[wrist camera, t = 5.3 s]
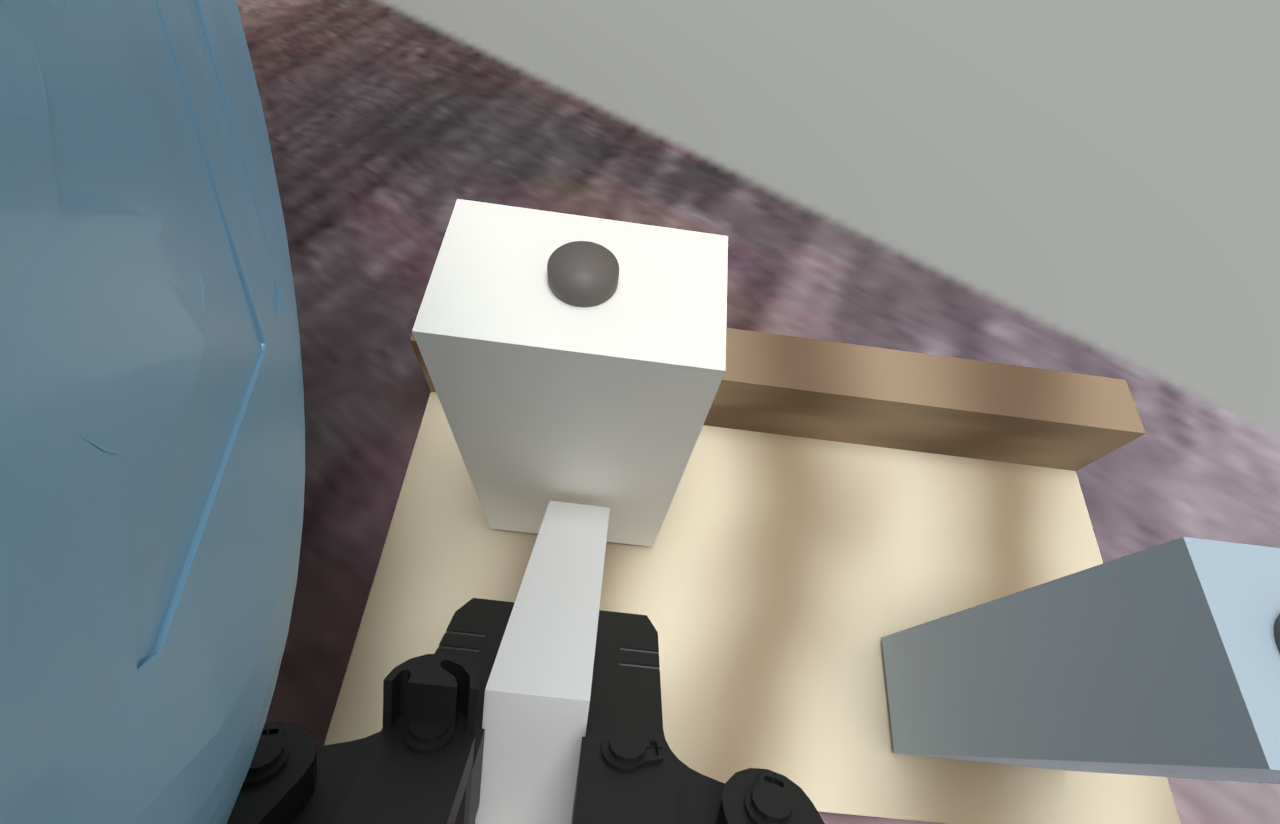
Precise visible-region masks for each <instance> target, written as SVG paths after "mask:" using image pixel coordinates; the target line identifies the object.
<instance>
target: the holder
mask: <svg viewBox="0 0 1280 824" xmlns="http://www.w3.org/2000/svg"><path fill="white" fill-rule="evenodd" d="M410 342H411V344H412V347H413V349H414V352H415V354H416V357H417V359H418V362H419V364H420V366H421V369H422V371H423V374H424V376H425V379H426V381H427V383H428V386H429V388H430V391H431V393H430V396H429V399H428V403H427V406H426V409H425V413H424V416H423V419H422V423H421V426H420V429H419V432H418V436H417V439H416V442H415V446H414V449H413V452H412V456H411V459H410V462H409V465H408V469H407V472H406V475H405V479H404V482H403V485H402V489H401V492H400V495H399V498H398V502H397V505H396V508H395V512H394V515H393V518H392V522H391V525H390V528H389V531H388V535H387V538H386V541H385V545H384V548H383V551H382V555H381V558H380V561H379V564H378V568H377V571H376V574H375V578H374V581H373V584H372V588H371V591H370V594H369V597H368V601H367V604H366V607H365V611H364V614H363V617H362V621H361V624H360V627H359V630H358V634H357V637H356V640H355V644H354V647H353V650H352V654H351V657H350V660H349V663H348V667H347V670H346V673H345V677H344V680H343V683H342V687H341V690H340V693H339V696H338V700H337V703H336V706H335V710H334V713H333V716H332V720H331V723H330V726H329V729H328V733H327V736H326V739H325V743H324V745H331V744H337V743H343V742H349V741H353V740H358V739H362V738H366V737H368V736H370V735H373V734H375V733H377V732H380V731H381V730H382V728H383V680H384V679H385V678H386V676H387V675H388V674H389V673H390V672H391V671H392V670H393V669H394V668H395V667H396V666H398V665H400V664H402V663H403V662H405V661H407V660H409V659H411V658H415V657H418V656H422V655H426V654H435V652H436V649H437V648H438V647H439V643H440V641H441V639H442V637H443V635H444V633H446V629H447V627H448V625H449V623H450V621H451V619H452V617H453V615H454V613H455V612H456V611H457V610H458V609H459V608H461V607H462V606H463V605H465V604H466V603H467V602H468V601H470V600H471V599H472V598H480V599H489V600H498V601H507V602H515V600H516V598H517V595H518V592H519V589H520V586H521V583H522V580H523V577H524V574H525V571H526V568H527V565H528V562H529V560H530V557H531V554H532V551H533V548H534V545H535V542H536V539H537V536H538V534H535V533H526V532H517V531H508V530H499V529H491V528H490V527H489V524H488V522H487V519H486V517H485V514H484V512H483V509H482V507H481V504H480V502H479V499H478V497H477V494H476V491H475V489H474V486H473V484H472V481H471V479H470V476H469V474H468V471H467V469H466V466H465V464H464V461H463V459H462V456H461V453H460V451H459V448H458V446H457V443H456V441H455V438H454V436H453V433H452V431H451V428H450V426H449V423H448V421H447V418H446V415H445V413H444V410H443V408H442V405H441V403H440V400H439V398H438V395H437V393H436V390H435V388H434V385H433V383H432V380H431V378H430V375H429V372H428V370H427V367H426V365H425V362H424V360H423V357H422V355H421V352H420V350H419V347H418V345H417V342H416V340H415V337H414V334H413V332H412V335H411V338H410ZM1144 434H1146V433H1145V430H1144V427H1143V425H1142V422H1141V419H1140V417H1139V414H1138V411H1137V409H1136V406H1135V403H1134V401H1133V398H1132V395H1131V393H1130V390H1129V387H1128V385H1127V382H1126V380H1122V379H1114V378H1107V377H1099V376H1091V375H1084V374H1076V373H1068V372H1061V371H1053V370H1045V369H1038V368H1030V367H1022V366H1015V365H1007V364H999V363H992V362H984V361H976V360H969V359H961V358H953V357H946V356H938V355H930V354H923V353H915V352H907V351H900V350H892V349H884V348H877V347H869V346H861V345H854V344H846V343H838V342H831V341H823V340H815V339H808V338H800V337H792V336H785V335H777V334H769V333H762V332H754V331H746V330H739V329H731V328H726V371H725V374H724V376H723V378H722V381H721V383H720V386H719V388H718V391H717V393H716V395H715V398H714V400H713V403H712V405H711V408H710V410H709V412H708V415H707V417H706V420H705V422H704V424H703V427H702V429H701V432H700V434H699V437H698V439H697V441H696V444H695V446H694V449H693V451H692V454H691V456H690V458H689V461H688V463H687V466H686V468H685V471H684V473H683V475H682V478H681V480H680V483H679V485H678V488H677V490H676V492H675V495H674V497H673V500H672V502H671V505H670V507H669V509H668V512H667V514H666V517H665V519H664V522H663V524H662V526H661V529H660V531H659V534H658V536H657V539H656V541H655V543H654V546H653V547H649V546H640V545H631V544H623V543H614V542H606V549H605V559H604V569H603V578H602V588H601V598H600V608H599V610H603V611H612V612H621V613H630V614H639V615H647V616H648V618H649V619H650V621H651V623H652V624H653V626H654V627H655V629H656V630H657V632H658V645H659V664H660V667H659V670H660V682H661V700H662V718H663V731H664V736H665V740H666V741H667V743H668V745H669V747H670V749H671V751H672V752H673V753H674V754H675V755H676V757H677V758H678V759H679V760H680V761H682V762H683V763H684V764H685V765H687V766H688V767H689V768H691V769H693V770H695V771H697V772H699V773H700V774H702V775H705V776H707V777H710V778H712V779H715V780H717V781H720V782H722V783H726V782H727V781H728V780H729V779H730V778H731V777H732V776H733V775H734V774H735V773H736V772H739V771H742V770H745V769H748V768H759V769H768V770H771V771H773V772H776V773H779V774H781V775H784V776H786V777H787V778H788V779H790V780H791V781H792V782H794V783H795V784H796V785H798V786H799V787H801V788H802V790H803V791H804V792H805V794H806V795H807V796H808V797H809V799H810V800H811V801H812V803H813V804H814V806H815V808H816V809H817V811H820V812H831V813H841V814H852V815H862V816H873V817H883V818H894V819H904V820H915V821H925V822H936V823H946V824H1181V823H1180V819H1179V816H1178V813H1177V809H1176V806H1175V803H1174V799H1173V796H1172V793H1171V789H1170V786H1169V783H1168V779H1167V777H1157V776H1141V775H1125V774H1109V773H1094V772H1078V771H1065V770H1055V769H1045V768H1035V767H1025V766H1015V765H1005V764H995V763H985V762H975V761H965V760H955V759H945V758H935V757H925V756H915V755H905V754H895V753H894V746H893V737H892V728H891V718H890V709H889V700H888V690H887V681H886V672H885V663H884V653H883V644H882V637H884V636H887V635H890V634H893V633H896V632H899V631H902V630H905V629H908V628H911V627H914V626H917V625H920V624H923V623H926V622H929V621H932V620H935V619H938V618H941V617H944V616H947V615H950V614H953V613H956V612H959V611H962V610H965V609H968V608H971V607H974V606H977V605H980V604H983V603H986V602H989V601H992V600H995V599H998V598H1001V597H1004V596H1007V595H1010V594H1013V593H1016V592H1019V591H1022V590H1025V589H1028V588H1031V587H1034V586H1037V585H1040V584H1043V583H1046V582H1049V581H1052V580H1055V579H1058V578H1061V577H1064V576H1067V575H1070V574H1073V573H1076V572H1079V571H1082V570H1085V569H1088V568H1091V567H1094V566H1097V565H1100V564H1103V561H1102V558H1101V555H1100V551H1099V548H1098V544H1097V541H1096V538H1095V534H1094V531H1093V528H1092V524H1091V521H1090V518H1089V514H1088V511H1087V508H1086V504H1085V501H1084V498H1083V494H1082V491H1081V487H1080V484H1079V481H1078V477H1077V474H1076V471H1077V470H1078V469H1080V468H1082V467H1084V466H1086V465H1088V464H1090V463H1091V462H1093V461H1095V460H1097V459H1099V458H1101V457H1103V456H1105V455H1106V454H1108V453H1110V452H1112V451H1114V450H1116V449H1118V448H1119V447H1121V446H1123V445H1125V444H1127V443H1129V442H1131V441H1133V440H1134V439H1136V438H1138V437H1140V436H1142V435H1144Z"/></svg>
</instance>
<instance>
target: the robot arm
mask: <svg viewBox="0 0 1280 824" xmlns="http://www.w3.org/2000/svg"><path fill="white" fill-rule="evenodd" d="M304 491H305V414H304V390H303V374H302V361H301V348H300V335H299V326H298V317H297V308H296V299H295V291H294V284H293V277H292V270H291V263H290V256H289V248H288V241H287V234H286V227H285V222H284V217H283V211H282V206H281V201H280V195H279V190H278V185H277V179H276V174H275V169H274V164H273V158H272V153H271V148H270V143H269V137H268V133H267V128H266V123H265V119H264V114H263V109H262V105H261V100H260V96H259V92H258V87H257V83H256V79H255V75H254V71H253V67H252V63H251V59H250V54H249V50H248V46H247V42H246V38H245V34H244V30H243V26H242V22H241V17H240V13H239V9H238V5H237V1H236V0H0V824H474V821H475V824H824V822H823V820H822V818H821V817H820V815H819V813H818V811H817V809H816V808H815V806H814V804H813V803H812V801H811V800H810V799H809V797H808V796H807V795H806V794H805V792H804V791H803V790H802V788H801V787H799V786H798V785H796V784H795V783H794V782H792V781H791V780H790V779H788V778H787V777H786V776H784V775H781V774H779V773H776V772H773V771H771V770H768V769H759V768H748V769H745V770H742V771H739V772H736V773H735V774H734V775H733V776H732V777H731V778H730V779H729V780H728V781H727V782H726V783H722V782H720V781H717V780H715V779H712V778H710V777H707V776H705V775H702V774H700V773H699V772H697V771H695V770H693V769H691V768H689V767H688V766H687V765H685V764H684V763H683V762H682V761H680V760H679V759H678V758H677V757H676V755H675V754H674V753H673V752H672V751H671V749H670V747H669V745H668V743H667V741H666V740H665V736H664V731H663V718H662V700H661V682H660V670H659V667H660V664H659V645H658V632H657V630H656V629H655V627H654V626H653V624H652V623H651V621H650V619H649V618H648V616H647V615H639V614H630V613H621V612H612V611H603V610H599V608H600V598H601V588H602V578H603V569H604V559H605V549H606V540H607V530H608V520H609V510H610V508H608V507H600V506H591V505H583V504H574V503H566V502H558V501H549V504H548V507H547V510H546V513H545V516H544V519H543V522H542V524H541V527H540V530H539V533H538V536H537V539H536V542H535V545H534V548H533V551H532V554H531V557H530V560H529V562H528V565H527V568H526V571H525V574H524V577H523V580H522V583H521V586H520V589H519V592H518V595H517V598H516V600H515V602H507V601H498V600H489V599H480V598H472V599H471V600H470V601H468V602H467V603H466V604H465V605H463V606H462V607H461V608H459V609H458V610H457V611H456V612H455V613H454V615H453V617H452V619H451V621H450V623H449V625H448V627H447V629H446V633H444V635H443V637H442V639H441V641H440V643H439V647H438V648H437V649H436V652H435V654H426V655H422V656H418V657H415V658H411V659H409V660H407V661H405V662H403V663H402V664H400V665H398V666H396V667H395V668H394V669H393V670H392V671H391V672H390V673H389V674H388V675H387V676H386V678H385V679H384V680H383V728H382V730H381V731H380V732H377V733H375V734H373V735H370V736H368V737H366V738H362V739H358V740H353V741H349V742H343V743H337V744H331V745H324V746H318V747H317V744H316V742H315V740H314V738H313V736H312V733H311V732H310V731H308V730H307V729H305V728H303V727H302V726H300V725H298V724H292V723H284V722H276V723H270V724H265V722H266V718H267V715H268V711H269V707H270V704H271V700H272V697H273V693H274V690H275V685H276V681H277V677H278V673H279V669H280V665H281V661H282V657H283V653H284V649H285V644H286V640H287V636H288V632H289V626H290V620H291V614H292V608H293V602H294V596H295V590H296V584H297V577H298V567H299V557H300V547H301V537H302V527H303V513H304Z"/></svg>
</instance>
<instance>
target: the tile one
mask: <svg viewBox="0 0 1280 824" xmlns="http://www.w3.org/2000/svg"><path fill="white" fill-rule="evenodd" d="M727 265H728V236H724V235H717V234H709V233H702V232H695V231H688V230H680V229H673V228H666V227H658V226H651V225H644V224H637V223H629V222H622V221H615V220H607V219H600V218H593V217H586V216H578V215H571V214H564V213H556V212H549V211H542V210H535V209H527V208H520V207H513V206H505V205H498V204H491V203H484V202H476V201H469V200H462V199H457V201H456V204H455V207H454V210H453V213H452V216H451V219H450V222H449V225H448V227H447V230H446V233H445V236H444V239H443V242H442V245H441V248H440V251H439V254H438V257H437V260H436V263H435V266H434V268H433V271H432V274H431V277H430V280H429V283H428V286H427V289H426V292H425V295H424V298H423V301H422V304H421V307H420V310H419V312H418V315H417V318H416V321H415V324H414V327H413V330H412V332H413V334H414V337H415V340H416V342H417V345H418V347H419V350H420V352H421V355H422V357H423V360H424V362H425V365H426V367H427V370H428V372H429V375H430V378H431V380H432V383H433V385H434V388H435V390H436V393H437V395H438V398H439V400H440V403H441V405H442V408H443V410H444V413H445V415H446V418H447V421H448V423H449V426H450V428H451V431H452V433H453V436H454V438H455V441H456V443H457V446H458V448H459V451H460V453H461V456H462V459H463V461H464V464H465V466H466V469H467V471H468V474H469V476H470V479H471V481H472V484H473V486H474V489H475V491H476V494H477V497H478V499H479V502H480V504H481V507H482V509H483V512H484V514H485V517H486V519H487V522H488V524H489V527H490V528H491V529H499V530H508V531H517V532H526V533H535V534H538V533H539V530H540V527H541V524H542V522H543V519H544V516H545V513H546V510H547V507H548V504H549V501H558V502H566V503H574V504H583V505H591V506H600V507H608V508H610V510H609V520H608V530H607V540H606V542H614V543H623V544H631V545H640V546H649V547H653V546H654V543H655V541H656V539H657V536H658V534H659V531H660V529H661V526H662V524H663V522H664V519H665V517H666V514H667V512H668V509H669V507H670V505H671V502H672V500H673V497H674V495H675V492H676V490H677V488H678V485H679V483H680V480H681V478H682V475H683V473H684V471H685V468H686V466H687V463H688V461H689V458H690V456H691V454H692V451H693V449H694V446H695V444H696V441H697V439H698V437H699V434H700V432H701V429H702V427H703V424H704V422H705V420H706V417H707V415H708V412H709V410H710V408H711V405H712V403H713V400H714V398H715V395H716V393H717V391H718V388H719V386H720V383H721V381H722V378H723V376H724V374H725V371H726V320H727Z"/></svg>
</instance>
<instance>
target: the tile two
mask: <svg viewBox="0 0 1280 824" xmlns="http://www.w3.org/2000/svg"><path fill="white" fill-rule="evenodd" d="M882 644H883V653H884V663H885V672H886V681H887V690H888V700H889V709H890V718H891V728H892V737H893V746H894V753H895V754H905V755H915V756H925V757H935V758H945V759H955V760H965V761H975V762H985V763H995V764H1005V765H1015V766H1025V767H1035V768H1045V769H1055V770H1065V771H1078V772H1094V773H1109V774H1125V775H1141V776H1157V777H1173V778H1189V779H1205V780H1221V781H1237V782H1253V783H1269V784H1280V548H1273V547H1264V546H1256V545H1247V544H1239V543H1231V542H1222V541H1214V540H1205V539H1197V538H1189V537H1181V538H1178V539H1175V540H1172V541H1169V542H1166V543H1163V544H1160V545H1157V546H1154V547H1151V548H1148V549H1145V550H1142V551H1139V552H1136V553H1133V554H1130V555H1127V556H1124V557H1121V558H1118V559H1115V560H1112V561H1109V562H1106V563H1103V564H1100V565H1097V566H1094V567H1091V568H1088V569H1085V570H1082V571H1079V572H1076V573H1073V574H1070V575H1067V576H1064V577H1061V578H1058V579H1055V580H1052V581H1049V582H1046V583H1043V584H1040V585H1037V586H1034V587H1031V588H1028V589H1025V590H1022V591H1019V592H1016V593H1013V594H1010V595H1007V596H1004V597H1001V598H998V599H995V600H992V601H989V602H986V603H983V604H980V605H977V606H974V607H971V608H968V609H965V610H962V611H959V612H956V613H953V614H950V615H947V616H944V617H941V618H938V619H935V620H932V621H929V622H926V623H923V624H920V625H917V626H914V627H911V628H908V629H905V630H902V631H899V632H896V633H893V634H890V635H887V636H884V637H882Z"/></svg>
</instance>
